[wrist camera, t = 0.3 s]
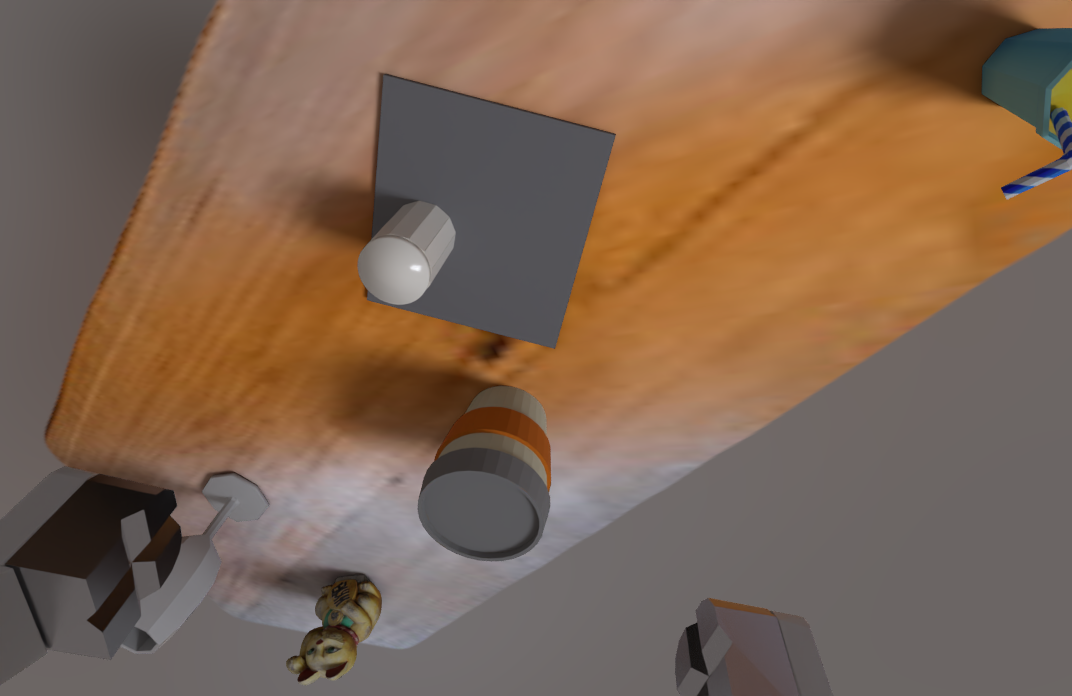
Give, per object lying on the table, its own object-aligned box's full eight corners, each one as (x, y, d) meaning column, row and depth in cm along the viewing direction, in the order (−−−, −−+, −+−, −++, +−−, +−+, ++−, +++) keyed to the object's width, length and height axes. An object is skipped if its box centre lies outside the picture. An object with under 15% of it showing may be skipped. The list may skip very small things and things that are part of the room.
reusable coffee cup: (443, 373, 67) (400, 468, 54) (556, 370, 65) (538, 468, 52) (464, 459, 74) (430, 561, 61) (567, 459, 71) (554, 564, 59)
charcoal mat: (385, 73, 51) (383, 74, 51) (615, 134, 51) (615, 135, 51) (368, 297, 63) (367, 300, 63) (555, 346, 63) (554, 348, 63)
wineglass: (234, 462, 79) (121, 604, 62) (282, 505, 83) (187, 652, 65) (194, 484, 83) (75, 624, 65) (241, 524, 86) (140, 668, 68)
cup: (933, 176, 50) (1035, 248, 37) (889, 99, 47) (983, 148, 35) (1133, 54, 44) (1337, 90, 31) (1095, -43, 41) (1300, -46, 29)
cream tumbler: (396, 194, 56) (359, 230, 49) (459, 210, 56) (432, 249, 49) (390, 252, 59) (355, 294, 52) (450, 268, 59) (423, 312, 52)
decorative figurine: (373, 566, 87) (330, 667, 74) (401, 601, 91) (364, 704, 78) (319, 576, 90) (268, 675, 77) (348, 610, 94) (304, 710, 81)
